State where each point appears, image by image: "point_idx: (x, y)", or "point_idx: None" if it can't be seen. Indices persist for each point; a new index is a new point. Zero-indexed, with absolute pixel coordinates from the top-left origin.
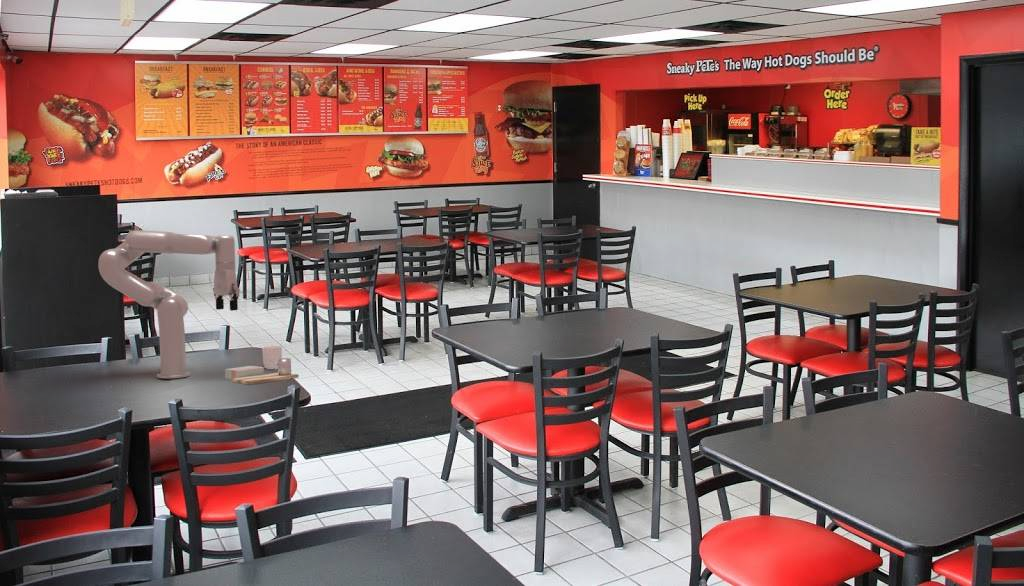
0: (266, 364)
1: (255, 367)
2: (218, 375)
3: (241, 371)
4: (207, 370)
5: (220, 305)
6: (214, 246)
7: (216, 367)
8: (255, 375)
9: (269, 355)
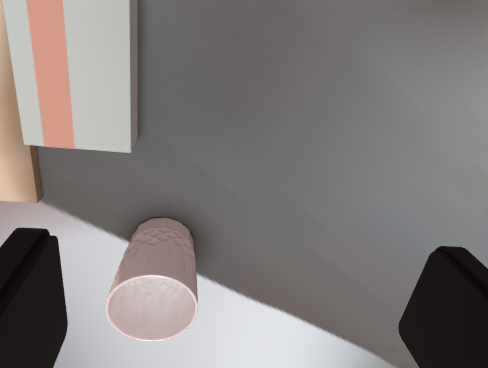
0: (153, 232)
1: (51, 121)
2: (256, 61)
3: (6, 7)
4: (404, 134)
5: (447, 335)
6: None
7: (423, 199)
8: None
9: (130, 259)
